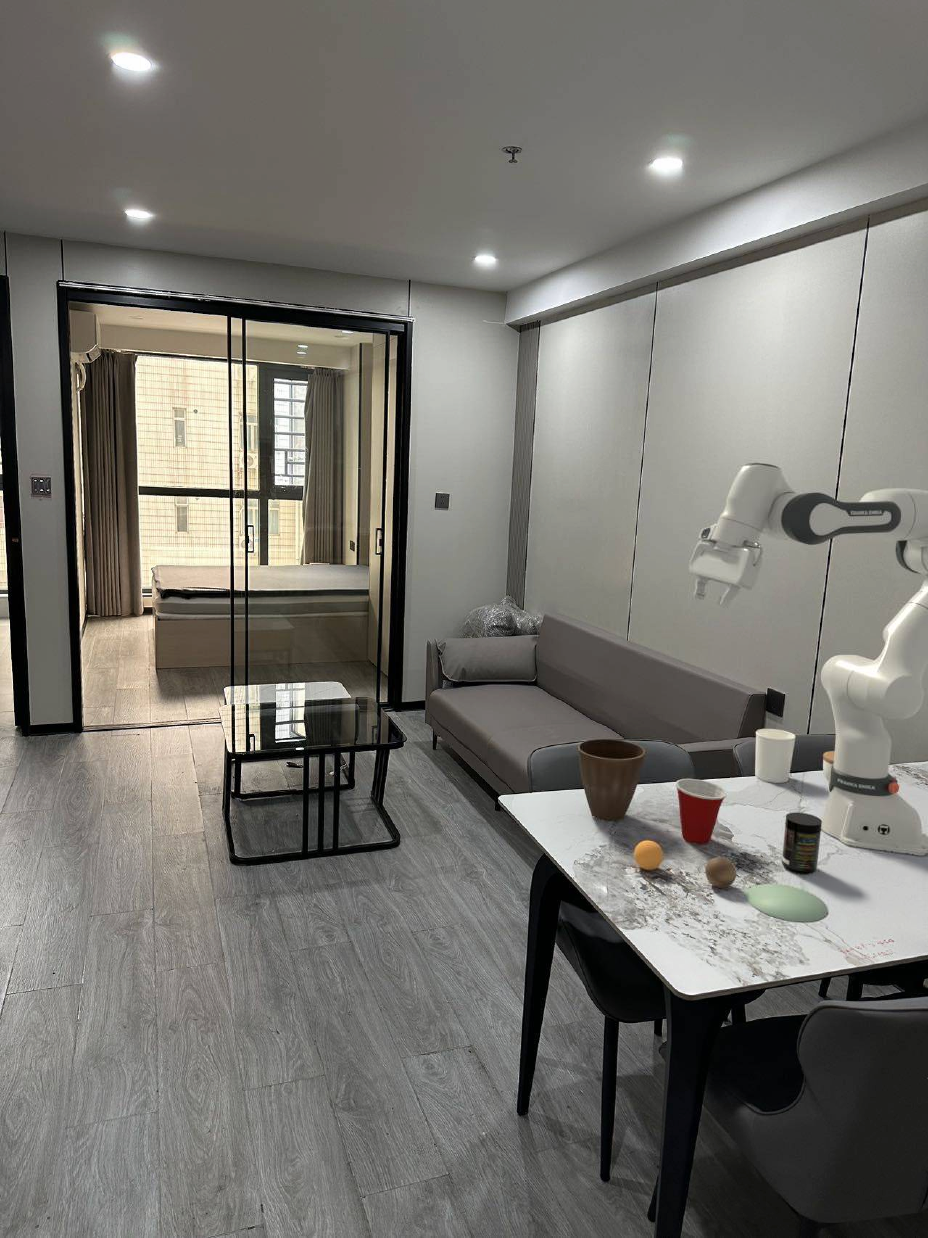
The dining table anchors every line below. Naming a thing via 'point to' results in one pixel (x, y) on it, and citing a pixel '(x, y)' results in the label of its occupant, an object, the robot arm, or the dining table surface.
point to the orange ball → (648, 855)
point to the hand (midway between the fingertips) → (709, 602)
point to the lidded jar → (828, 763)
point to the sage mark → (786, 902)
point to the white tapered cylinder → (773, 755)
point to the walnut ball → (720, 872)
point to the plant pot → (610, 776)
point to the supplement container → (801, 843)
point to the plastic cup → (698, 808)
